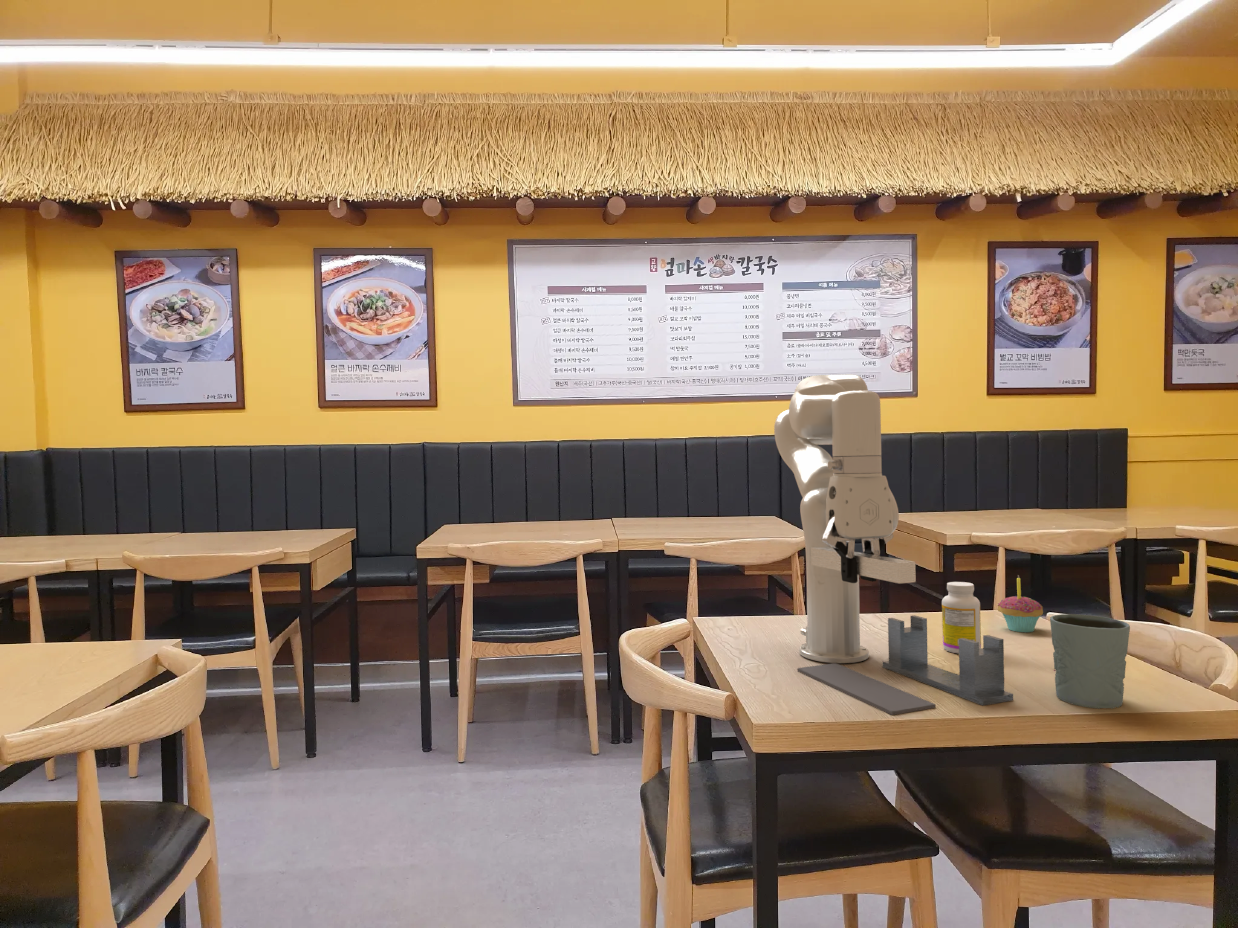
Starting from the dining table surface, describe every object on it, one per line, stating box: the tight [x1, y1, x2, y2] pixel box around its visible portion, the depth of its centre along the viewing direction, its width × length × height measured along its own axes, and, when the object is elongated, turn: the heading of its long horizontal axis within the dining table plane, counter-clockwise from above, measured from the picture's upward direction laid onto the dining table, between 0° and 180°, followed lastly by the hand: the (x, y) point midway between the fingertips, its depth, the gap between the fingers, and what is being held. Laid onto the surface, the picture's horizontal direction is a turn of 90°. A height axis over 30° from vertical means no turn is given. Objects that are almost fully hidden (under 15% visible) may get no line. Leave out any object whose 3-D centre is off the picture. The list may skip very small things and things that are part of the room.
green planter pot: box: [1049, 613, 1131, 709], centre depth 111 cm, size 10×10×12 cm
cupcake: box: [997, 574, 1044, 633], centre depth 155 cm, size 9×8×12 cm
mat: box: [796, 663, 937, 716], centre depth 118 cm, size 24×8×1 cm, turn 20°
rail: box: [811, 547, 917, 585], centre depth 118 cm, size 22×3×3 cm, turn 20°
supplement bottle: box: [941, 581, 982, 655], centre depth 139 cm, size 7×7×13 cm
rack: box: [882, 614, 1014, 706], centre depth 120 cm, size 22×6×9 cm, turn 20°
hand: (859, 579), depth 118 cm, fingers closed on rail, 3 cm apart
